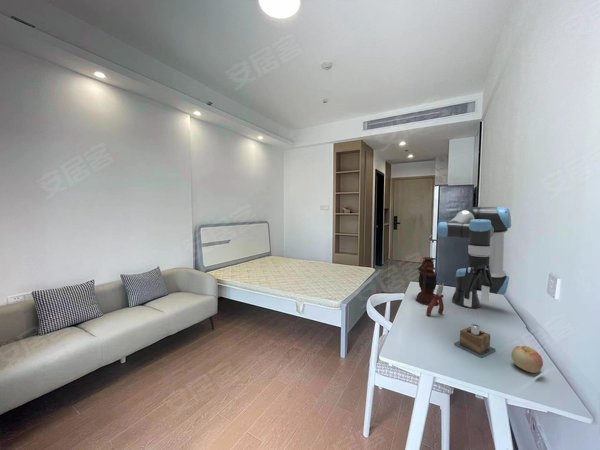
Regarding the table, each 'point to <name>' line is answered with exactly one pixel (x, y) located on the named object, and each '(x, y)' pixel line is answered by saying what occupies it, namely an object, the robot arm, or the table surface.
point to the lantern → (427, 282)
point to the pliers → (436, 298)
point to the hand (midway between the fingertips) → (476, 303)
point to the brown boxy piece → (475, 340)
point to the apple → (527, 359)
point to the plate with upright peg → (482, 354)
